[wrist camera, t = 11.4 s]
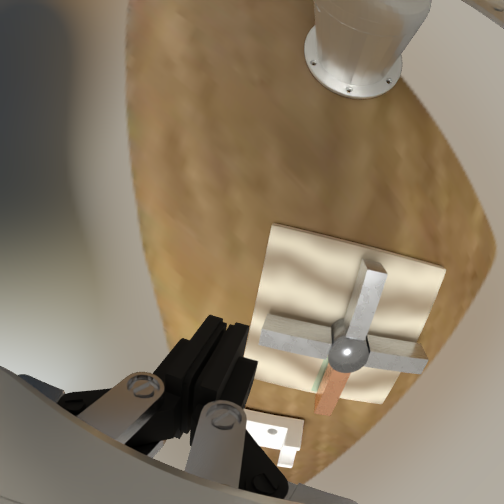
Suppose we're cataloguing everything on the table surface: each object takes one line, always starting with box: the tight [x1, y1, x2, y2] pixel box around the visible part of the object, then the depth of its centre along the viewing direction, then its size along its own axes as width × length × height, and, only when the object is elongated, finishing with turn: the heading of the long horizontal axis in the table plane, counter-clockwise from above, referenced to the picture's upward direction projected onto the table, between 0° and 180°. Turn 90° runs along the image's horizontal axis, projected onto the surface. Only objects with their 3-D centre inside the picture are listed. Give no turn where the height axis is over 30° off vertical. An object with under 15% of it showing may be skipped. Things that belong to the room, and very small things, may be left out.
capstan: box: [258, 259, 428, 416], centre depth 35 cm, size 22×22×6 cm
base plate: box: [244, 223, 446, 404], centre depth 38 cm, size 24×24×2 cm
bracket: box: [244, 409, 304, 468], centre depth 44 cm, size 13×7×8 cm, turn 84°
